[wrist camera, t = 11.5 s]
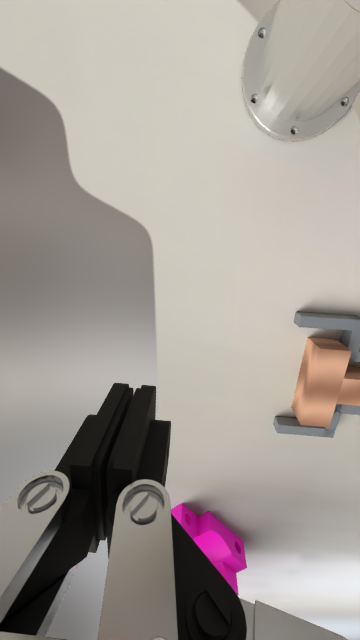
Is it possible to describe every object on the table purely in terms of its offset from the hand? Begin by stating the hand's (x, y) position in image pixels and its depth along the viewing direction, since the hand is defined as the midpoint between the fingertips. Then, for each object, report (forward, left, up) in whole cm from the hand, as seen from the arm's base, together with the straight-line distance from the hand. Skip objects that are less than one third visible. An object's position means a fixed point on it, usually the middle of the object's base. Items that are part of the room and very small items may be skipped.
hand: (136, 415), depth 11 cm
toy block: (+47, +8, -28) cm, 55 cm away
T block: (+12, +25, -27) cm, 39 cm away
